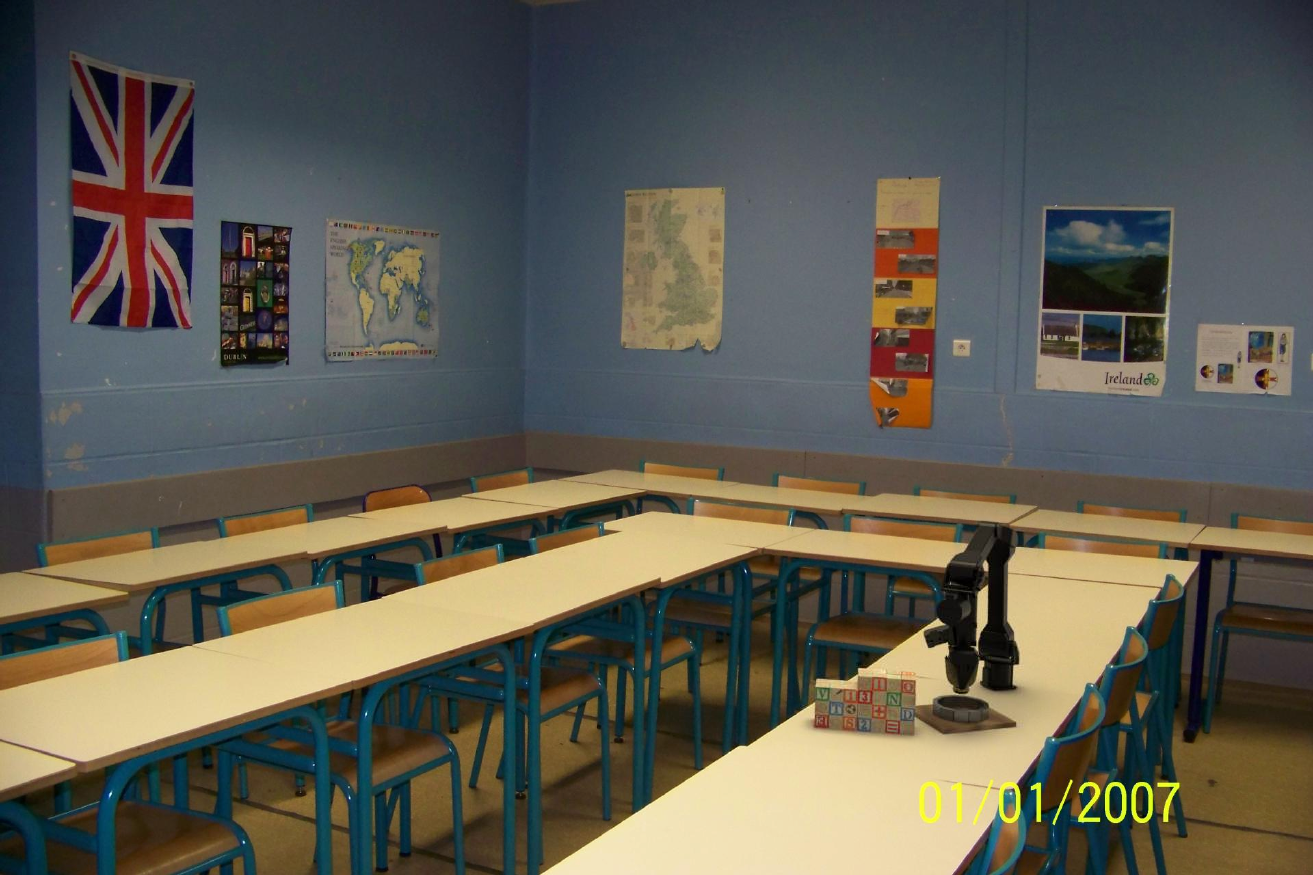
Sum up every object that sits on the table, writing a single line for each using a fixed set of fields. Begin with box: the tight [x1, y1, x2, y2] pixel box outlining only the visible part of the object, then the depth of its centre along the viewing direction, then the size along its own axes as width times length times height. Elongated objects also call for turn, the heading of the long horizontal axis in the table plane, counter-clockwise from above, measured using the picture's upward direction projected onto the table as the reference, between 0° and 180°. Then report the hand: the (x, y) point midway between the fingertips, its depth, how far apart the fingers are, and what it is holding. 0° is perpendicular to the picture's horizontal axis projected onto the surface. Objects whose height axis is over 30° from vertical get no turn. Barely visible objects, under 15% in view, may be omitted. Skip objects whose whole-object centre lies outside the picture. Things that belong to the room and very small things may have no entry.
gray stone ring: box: [932, 694, 990, 723], centre depth 262 cm, size 12×12×2 cm
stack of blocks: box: [813, 667, 917, 736], centre depth 256 cm, size 21×6×12 cm, turn 79°
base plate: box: [915, 703, 1017, 735], centre depth 263 cm, size 18×16×1 cm
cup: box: [944, 654, 980, 695], centre depth 262 cm, size 8×7×8 cm
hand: (961, 684), depth 262 cm, fingers closed on cup, 6 cm apart
